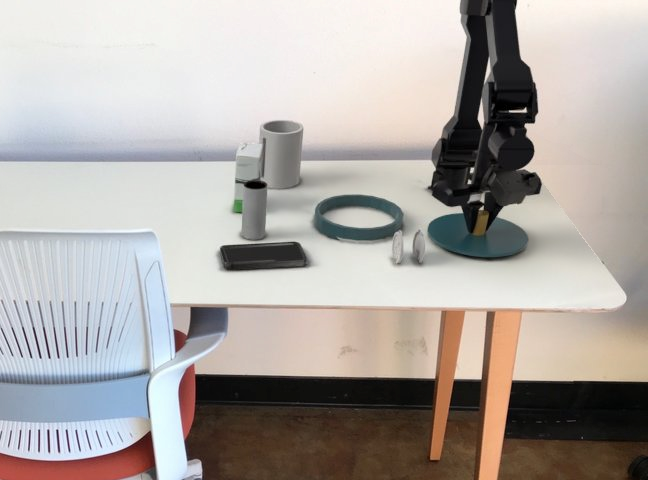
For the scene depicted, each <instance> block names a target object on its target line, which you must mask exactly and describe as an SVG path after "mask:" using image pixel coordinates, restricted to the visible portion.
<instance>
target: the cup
mask: <svg viewBox="0 0 648 480" xmlns="http://www.w3.org/2000/svg"><path fill="white" fill-rule="evenodd" d="M303 138H304V125H303V124H302V123H301V122H298V121H293V120H289V119H273V120H268V121H264V122H262V123H261V124H260V125H259V141H258V144H263V153H262V171H261V181H264V182H266V183H267V184H268V188H270V189H276V190H283V189H290V188H293V187H296V186H297V185H298V184H299V183H300V177H301V176H300V175H301V165H302V152H303V151H302V149H303V140H304V139H303Z"/></svg>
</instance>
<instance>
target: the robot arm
mask: <svg viewBox="0 0 648 480" xmlns="http://www.w3.org/2000/svg"><path fill="white" fill-rule="evenodd" d="M517 5H518V0H460V2H459V15H460V24H461V26H462V27H461V28H462V29H463V31H464V34H465V36H466V40H465V45H464V52H463V57H462V62H461V63H462V64H461V69H460V70H461V71H460V74H459V75H460V76H459V80H458V87H457V92H456V99H455V105H454V110H453V114H452V116H451V118H449V120H448V121H447V122H446V124H444V126H443V128H442V131H441V136H440V138H438V140H437V142H436V143H435V145H434V146H433V147H432V150H431V163H432V164H433V166H434V168H435V170H434V171H433V173H432V176H431V177H432V178H431V183H430V185H428V186H427V190H430V191H431V196H432V197H433V198H435V200H437V201H439V202H440V203H442V204H443V205H444V206H446V207H449V208H455V207H460V208H461V210H462V213H463V215H464V218H465V222H466V226H467V230H468V232H469V233H473V231H474V229H475V225H476V221H477V217H478V212H479V210H481V208H482V210H485V211H488V212H489V217H488V221H487V225H486V230H485V231H487V230H488V229H489V227H490V226H491V224H492V223H493V221H494V220H495V218H496V217H498V215H499V214H500V212H501V211H502V210H503V208H504V207H508V206H510V205H521V204H523V202H524V200H525V198H526V197H531V196H536V195H540V193H541V190H542V186H543V182H542V179H541V177H540V176H539V175H538V174H537V171H536V172H534V171H533V172H531V171H529V170H527V169H525V167H527V166H528V164H530V163H531V161H532V160H533V158H534V156H535V152H536V150H535V145H534V142H533V141H532V140H531V139H530V138H529V136H528V135H527V132H528V129H527V127H526V125H533V124H536V117H537V115H538V114H539V99H538V89H537V85H536V82H535V81H534V77H533V73H532V68H531V66H529V65H528V64H527V63H526V62H525V61H523V59H522V56H521V49H520V41H519V32H518V31H519V30H518V23H517V14H516V11H517ZM488 65H489V68H490V69H489V71H490V72H489V74H488V76H487V78H486V75H487V71H488ZM481 104H482V105H481ZM481 106H482V113H483V124H482V125H481V123H480V121H479V114H480V109H481ZM524 110H526V111H525V112H524ZM511 111H512V112H511ZM471 169H473V172H471ZM469 181H470V183H469ZM483 194H484V200H483V201H481V199H482V195H483Z"/></svg>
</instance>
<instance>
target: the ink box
mask: <svg viewBox="0 0 648 480" xmlns="http://www.w3.org/2000/svg"><path fill="white" fill-rule="evenodd" d="M262 153H263V144H259V143H252V142H239V145H238V148H237V150H236V154H235V167H234V168H235V169H234V171H235V172H234V198H233V199H234V200H233V201H234V202H233V211H234V212H235V213H242V206H243V184H244V183H245V182H247V181H250V180H260V181H261V171H262Z"/></svg>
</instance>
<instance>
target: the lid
mask: <svg viewBox="0 0 648 480" xmlns="http://www.w3.org/2000/svg"><path fill="white" fill-rule="evenodd" d="M488 217H489V212H488V211H485V210H483V209H479V212H478V217H477V221H476V225H475V229H474V231H473V233H469V232H468V230H467V226H466V222H465V218H464V215H463V212H458V213H449V214H444V215H441V216H438V217H435V218H434V219H432V220H431V221H430V222H429V223H428V225H427V230H426V232H427V236H428V238H429V239H430V240H431V241H432V242H433V243H435V245H437V246H439V247H441V248H443V249H446V250H447V251H450V252H453V253H457V254H460V255H466V256H470V257H477V258H479V257H480V258H500V257H502V258H503V257H508V256H512V255H515V254H518V253H520V252H521V251H523V250H524V249H525V248H526V247H527V245H528V242H529V236H528V233H527V232H526V231H525V230H524V229H523V228H522V227H520V225H518V224H517V223H514V222H512V221H510V220H506V219H505V218H501V217H499V216H497V217H496V218H495V220H494V221H493V223H492V224H491V226H490V227H489V229H488V230H487V231H485V230H486V225H487V221H488Z"/></svg>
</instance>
